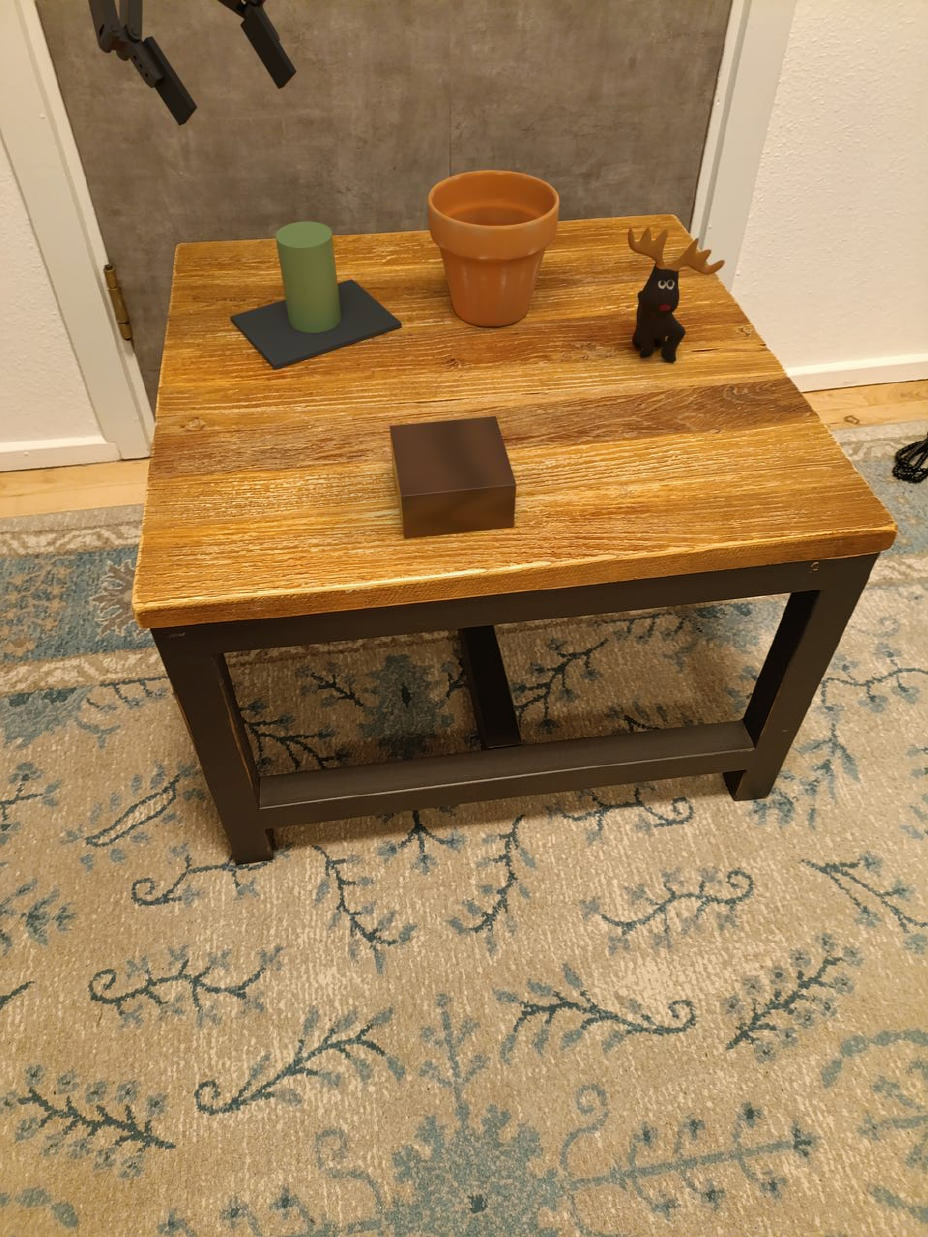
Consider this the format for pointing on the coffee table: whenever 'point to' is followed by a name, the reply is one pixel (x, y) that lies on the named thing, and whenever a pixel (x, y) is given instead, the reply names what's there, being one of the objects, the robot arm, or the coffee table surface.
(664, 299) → the figurine
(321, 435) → the coffee table surface
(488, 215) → the flower pot
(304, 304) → the green canister
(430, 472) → the dark brown square block
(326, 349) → the slate mat
